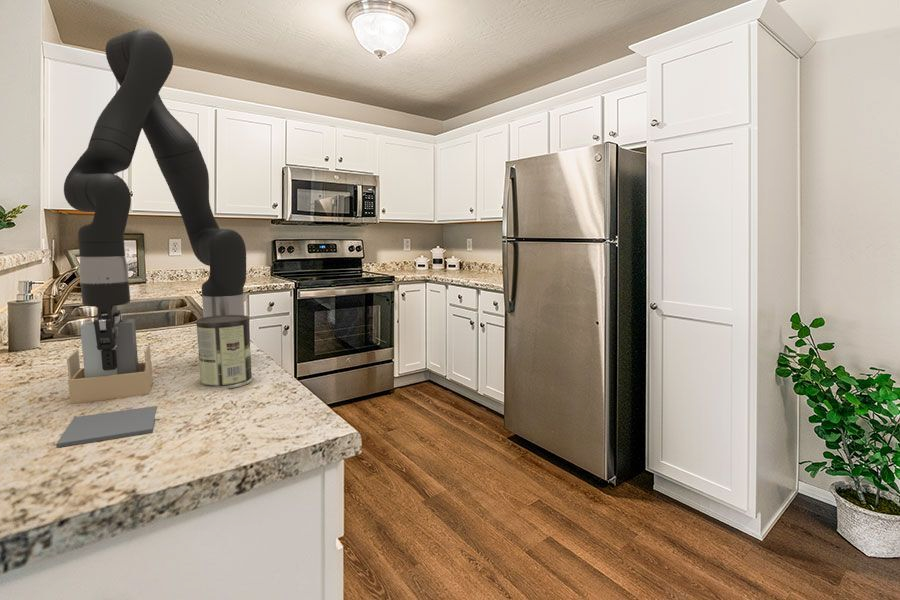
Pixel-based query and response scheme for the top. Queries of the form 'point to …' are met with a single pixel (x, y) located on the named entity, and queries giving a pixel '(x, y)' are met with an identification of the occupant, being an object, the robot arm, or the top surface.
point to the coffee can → (224, 351)
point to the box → (124, 350)
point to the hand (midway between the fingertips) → (112, 365)
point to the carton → (107, 382)
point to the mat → (108, 426)
